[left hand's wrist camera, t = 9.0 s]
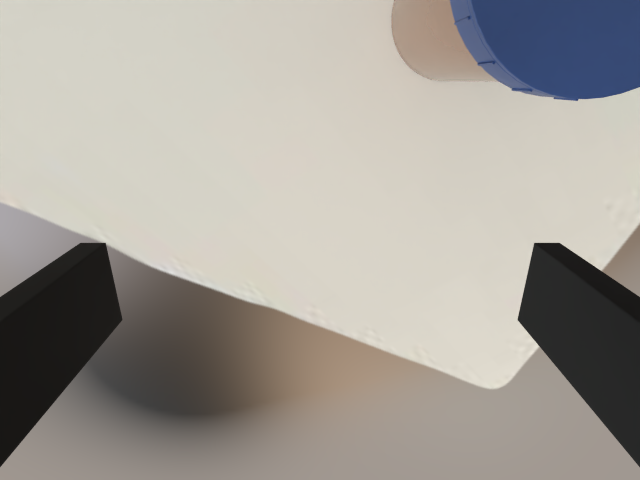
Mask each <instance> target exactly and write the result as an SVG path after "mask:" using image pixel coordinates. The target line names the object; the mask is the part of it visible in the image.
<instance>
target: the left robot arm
mask: <svg viewBox="0 0 640 480" xmlns="http://www.w3.org/2000/svg"><path fill="white" fill-rule="evenodd" d="M121 321H122V316H121V311H120V307H119V302H118V298H117V293H116V288H115V284H114V279H113V275H112V270H111V266H110V261H109V257H108V252H107V247H106V243H80V244H78V245H77V246H75V247H74V248H72V249H71V250H69V251H68V252H66V253H65V254H63V255H62V256H61V257H59V258H58V259H56V260H55V261H53V262H52V263H50V264H49V265H47V266H46V267H44V268H43V269H41V270H40V271H38V272H37V273H35V274H34V275H32V276H31V277H29V278H28V279H26V280H25V281H23V282H22V283H20V284H19V285H17V286H16V287H15V288H13V289H12V290H10V291H9V292H7V293H6V294H4V295H3V296H1V297H0V467H1V466H2V464H3V463H4V462H5V461H6V459H7V458H8V457H9V456H10V455H11V453H12V452H13V451H14V450H15V449H16V447H17V446H18V445H19V444H20V443H21V441H22V440H23V439H24V438H25V437H26V435H27V434H28V433H29V432H30V430H31V429H32V428H33V427H34V426H35V425H36V423H37V422H38V421H39V420H40V418H41V417H42V416H43V415H44V414H45V412H46V411H47V410H48V409H49V408H50V406H51V405H52V404H53V403H54V402H55V400H56V399H57V398H58V397H59V396H60V394H61V393H62V392H63V391H64V390H65V388H66V387H67V386H68V385H69V384H70V382H71V381H72V380H73V379H74V377H75V376H76V375H77V374H78V373H79V371H80V370H81V369H82V368H83V367H84V365H85V364H86V363H87V362H88V361H89V359H90V358H91V357H92V356H93V355H94V353H95V352H96V351H97V350H98V349H99V347H100V346H101V345H102V344H103V343H104V341H105V340H106V339H107V338H108V337H109V335H110V334H111V333H112V332H113V330H114V329H115V328H116V327H117V326H118V324H119V323H120V322H121ZM518 321H519V322H520V323H521V324H522V326H523V327H524V328H525V329H526V330H527V332H528V333H529V334H530V335H531V337H532V338H533V339H534V340H535V341H536V343H537V344H538V345H539V346H540V347H541V349H542V350H543V351H544V352H545V353H546V355H547V356H548V357H549V358H550V359H551V361H552V362H553V363H554V364H555V365H556V367H557V368H558V369H559V370H560V371H561V373H562V374H563V375H564V376H565V377H566V379H567V380H568V381H569V382H570V384H571V385H572V386H573V387H574V388H575V390H576V391H577V392H578V393H579V394H580V395H581V397H582V398H583V399H584V400H585V402H586V403H587V404H588V405H589V406H590V408H591V409H592V410H593V411H594V412H595V414H596V415H597V416H598V417H599V418H600V420H601V421H602V422H603V423H604V425H605V426H606V427H607V428H608V429H609V431H610V432H611V433H612V434H613V435H614V437H615V438H616V439H617V440H618V441H619V443H620V444H621V445H622V446H623V447H624V449H625V450H626V451H627V452H628V453H629V455H630V456H631V457H632V458H633V459H634V461H635V462H636V463H637V464H638V466H639V467H640V297H639V296H637V295H636V294H634V293H633V292H631V291H630V290H628V289H627V288H625V287H624V286H623V285H621V284H620V283H618V282H617V281H615V280H614V279H612V278H611V277H609V276H608V275H606V274H605V273H603V272H602V271H600V270H599V269H597V268H596V267H594V266H593V265H591V264H590V263H588V262H587V261H585V260H584V259H582V258H581V257H580V256H578V255H577V254H575V253H574V252H572V251H571V250H569V249H568V248H566V247H565V246H563V245H562V244H560V243H534V247H533V252H532V256H531V261H530V266H529V270H528V275H527V279H526V284H525V288H524V293H523V298H522V302H521V307H520V311H519V316H518Z"/></svg>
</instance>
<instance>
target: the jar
mask: <svg viewBox="0 0 640 480" xmlns="http://www.w3.org/2000/svg"><path fill="white" fill-rule="evenodd" d="M454 23H455V20H454V17H453V13H452V9H451V4H450V0H394V4H393V9H392V33H393V38H394V42H395V45H396V47H397V50H398V52H399V54H400V56H401V57H402V59H403V60H404V61H405V63H406V64H407V65H408V66H409V67H410V68H411V69H412V70H413V71H415V72H416V73H417V74H419V75H421V76H423V77H425V78H428V79H431V80H436V81H474V82H499V81H497V80H496V79H495V78H493V77H492V76H491V75H490V74H488V73H487V72H486V71H485V70H484V69H483V68H482V67H481V66H478V65H477V64H478V63H477V62H476V61H475V59H474V58H473V56H472V55H471V53H470V52H469V51H468V49H467V48H466V46H465V44H464V42H463V40H462V38H461V36H460V34H459V32H458V29H457V26H456V25H454Z"/></svg>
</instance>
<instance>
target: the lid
mask: <svg viewBox="0 0 640 480" xmlns="http://www.w3.org/2000/svg"><path fill="white" fill-rule="evenodd" d="M450 4H451V9H452V13H453V17H454V20H455V23H454V25H456V26H457V29H458V32H459V34H460V36H461V38H462V40H463V42H464V44H465V46H466V48H467V49H468V51H469V52H470V53H471V55H472V56H473V58H474V59H475V61H476V62H477V63H478V64H477V65H478V66H481V67H482V68H483V69H484V70H485V71H486V72H487V73H488V74H490V75H491V76H492V77H493V78H495V79H496V80H497V81H499V82H501V83H502V84H504V85H506V86H508V87H510V88H512V91H520V92H523V93H526V94H531V95H536V96H544V97H554V99H562V100H574V101H578V99H592V98H603V97H607V96H612V95H617V94H621V93H624V92H627V91H630V90H633V89H635V88H638V87H640V0H450Z"/></svg>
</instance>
